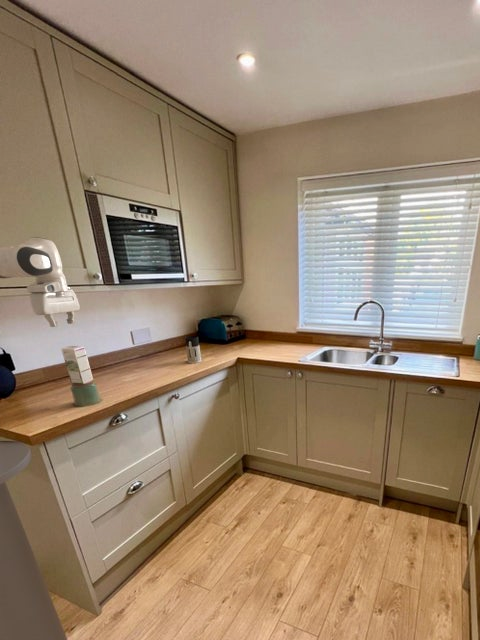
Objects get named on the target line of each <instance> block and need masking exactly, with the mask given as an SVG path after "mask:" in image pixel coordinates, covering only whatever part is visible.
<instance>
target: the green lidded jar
mask: <svg viewBox="0 0 480 640" xmlns="http://www.w3.org/2000/svg"><path fill="white" fill-rule="evenodd" d="M69 388H70V392H71V395H72V399H73V403H74V405H75V406H76V407H86V406H92V405H95V404H98V403H100V402H101V397H100V393H99V389H98V385H97V383H96V382H95V380H94V379H93V380H92V381H90V382H87V383H84V384H76V383H71V382H70V387H69Z"/></svg>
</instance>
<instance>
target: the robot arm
mask: <svg viewBox="0 0 480 640" xmlns="http://www.w3.org/2000/svg"><path fill="white" fill-rule="evenodd" d="M10 278H11V279H12V278H35V281H34V282H32V283H31V284H28V285H27V286H26V290H27V292H28V293H30V294H29V301H30V304H31V308H32V311H33V313H34V314H36V316H44V318H45V319H46V321H47V322H48V323H49V327H50V328H56V327H58V321H55V319H54V315H55V314H56V315H57V314H62V313H66V315H67V318H66V320H65V321H66V323H67V324H68V325H73V324H75V320H74V319H75V312H79V311H80V309H81V306H80V303H79V300H78V296H77V295H76V293H75V291H74V290H73V288H71V287H70V286H68V283H67V279H66V275H65V274H64V272H63V263H62V259H61V256H60V253H59V250H58V248H57V246H56V244H55V242H53V241H52V240H51V239H48V238H45V237H39V236H30V237H27V239H26V241H24V242H23V243H20V244H17V245H9V246H8V245H7V246H0V279H10Z"/></svg>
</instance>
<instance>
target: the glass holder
mask: <svg viewBox="0 0 480 640" xmlns="http://www.w3.org/2000/svg"><path fill="white" fill-rule="evenodd" d="M184 340H185V350H186V356H187V363H188V364H198V363H199V364H200V363H202V362H203V360H202V355H201V347H200V341H199V336H194V335H192V336H185V337H184Z"/></svg>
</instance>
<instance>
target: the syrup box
mask: <svg viewBox="0 0 480 640" xmlns="http://www.w3.org/2000/svg"><path fill="white" fill-rule="evenodd" d="M61 352H62V357H63V360H64V363H65V367H66V370H67V374H68V377H69V381H70V384H71V383H76V384H84V383H87V382H90V381H92V380H94V377H93V374H92V370H91V367H90V362H89V358H88V354H87V351H86V347H85V346H84V345H70V346H65V347H62V348H61Z"/></svg>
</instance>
